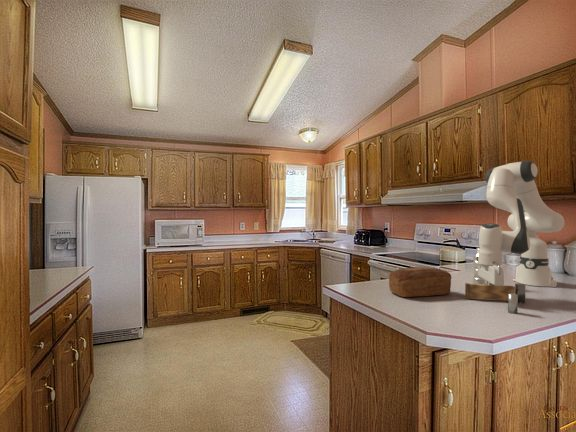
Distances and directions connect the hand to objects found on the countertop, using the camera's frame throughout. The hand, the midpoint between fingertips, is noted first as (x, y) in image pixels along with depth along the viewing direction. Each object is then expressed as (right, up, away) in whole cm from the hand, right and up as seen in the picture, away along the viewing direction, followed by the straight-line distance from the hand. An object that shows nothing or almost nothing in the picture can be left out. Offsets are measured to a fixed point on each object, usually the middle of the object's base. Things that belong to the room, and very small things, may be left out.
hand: (489, 291), depth 136 cm
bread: (-28, -3, +7) cm, 29 cm away
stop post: (-4, -3, -19) cm, 20 cm away
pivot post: (+10, -3, -5) cm, 11 cm away
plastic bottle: (+10, -3, +22) cm, 24 cm away
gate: (-2, -3, -3) cm, 4 cm away
